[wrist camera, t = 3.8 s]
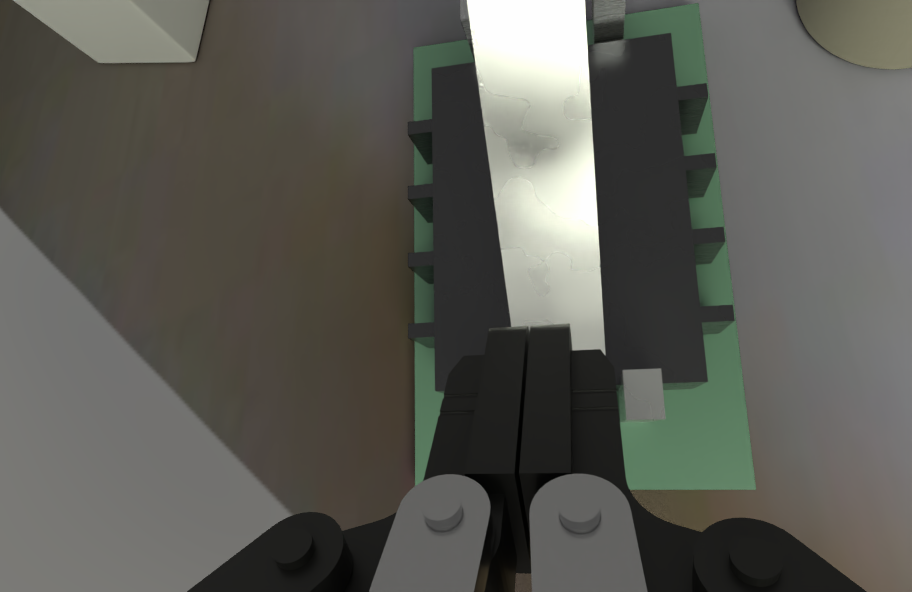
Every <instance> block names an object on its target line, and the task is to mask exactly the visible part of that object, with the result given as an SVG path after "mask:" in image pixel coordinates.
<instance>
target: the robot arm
mask: <svg viewBox="0 0 912 592" xmlns="http://www.w3.org/2000/svg"><path fill="white" fill-rule="evenodd" d="M516 573H530V574H531V576H532V592H866V591H865V590H864V589H862V588H861V587H860V586H858V585H857V584H856V583H854V582H853V581H852V580H850V579H849V578H848V577H846V576H845V575H844V574H842V573H841V572H840V571H838V570H837V569H836V568H835V567H833V566H832V565H831V564H829V563H828V562H827V561H825V560H824V559H823V558H821V557H820V556H819V555H817V554H816V553H815V552H813V551H812V550H811V549H809V548H808V547H807V546H805V545H804V544H803V543H801V542H800V541H799V540H797V539H796V538H795V537H793V536H792V535H791V534H789V533H788V532H786V531H785V530H783V529H781V528H779V527H777V526H775V525H773V524H770V523H767V522H764V521H761V520H756V519H750V518H731V519H725V520H722V521H719V522H716V523H714V524H712V525H711V526H709V527H708V528H707V529H705V530H704V531H703V532H699V531H695V530H692V529H689V528H685V527H682V526H678V525H675V524H672V523H669V522H666V521H664V520H662V519H660V518H658V517H656V516H654V515H653V514H651V513H650V512H648V511H647V510H646V509H645V508H643V507H642V506H641V505H640V504H639V503H638V502H637V500H636V499H635V498H634V497H633V495H632V493H631V492H630V490H629V487H628V485H627V481H626V475H625V466H624V456H623V447H622V438H621V428H620V419H619V411H618V400H617V391H616V381H615V371H614V366H613V365H612V364H611V363H610V361H609V360H608V359H607V357H606V356H605V355H604V353H603V352H602V351H601V350H600V349H593V350H572V340H571V330H570V323H568V324H551V325H533V326H531V327H530V331H529V327H528V326H518V327H500V328H490V329H489V331H488V337H487V342H486V348H485V354H484V355H469V356H463V357H462V358H461V359H460V361H459V362H458V363H457V364H456V366H455V367H454V368H453V369H452V370H451V372H450V373H449V374H448V379H447V383H446V387H445V391H444V398H443V400H442V404H441V408H440V416H438V421H437V425H436V429H435V433H434V438H433V442H432V446H431V450H430V454H429V459H428V463H427V467H426V471H425V476H424V479H423V482H421V483H419V484H418V485H416V486H415V487H414V488H412V489H411V490H410V491H409V492H408V493H407V494H406V496H405V497H404V499H403V500H402V501H401V504H400V506H399V508H398V511H397V512H396V513H395V514H393V515H391V516H389V517H387V518H385V519H382V520H379V521H376V522H373V523H369V524H365V525H362V526H358V527H355V528H351V529H348V530H344V531H342V530H341V528H340V526H339V525H338V523H337V522H336V521H335V520H334V519H332V518H331V517H330V516H327V515H325V514H322V513H317V512H307V513H300V514H296V515H293V516H290V517H288V518H286V519H284V520H282V521H280V522H278V523H277V524H275V525H274V526H272V527H271V528H270V529H268V530H267V531H266V532H265V533H263V534H262V535H261V536H259V537H258V538H257V539H255V540H254V541H253V542H252V543H250V544H249V545H248V546H246V547H245V548H244V549H242V550H241V551H240V552H238V553H237V554H236V555H234V556H233V557H232V558H230V559H229V560H228V561H227V562H225V563H224V564H223V565H221V566H220V567H219V568H217V569H216V570H215V571H213V572H212V573H211V574H210V575H208V576H207V577H206V578H204V579H203V580H202V581H201V582H199V583H198V584H196V585H195V586H194V587H193V588H191V589H190V590H189V591H187V592H515V577H516Z"/></svg>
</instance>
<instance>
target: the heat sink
mask: <svg viewBox="0 0 912 592" xmlns="http://www.w3.org/2000/svg"><path fill="white" fill-rule="evenodd" d="M625 3H626V0H592V42H593V44H591V45H587V48H588V65H589V82H590V99H591V116H592V133H593V150H594V167H595V184H596V201H597V218H598V235H599V252H600V269H601V286H602V303H603V320H604V337H605V354H606V357H607V359H608V360H609V361H610V363H611V364H612V365H613V366H614V371H615V381H616V391H617V392H618V400H619V414H620V423H628V422H653V421H658V420H664V419H666V417H665V406H664V395H663V390H682V389H694V388H696V387H698V386H700V385H702V384H705V383H707V382H708V376H707V366H706V357H705V347H704V338H703V335H706V334H719V333H721V332H722V331H723V330H724V329H725V328H727V327H728V326H729V325H730V324H731V323H733V322H734V321H735V318H734V309H733V305H717V306H700V300H699V291H698V282H697V272H696V265H701V264H711V263H712V262H713V260H714V259H715V257H716V256H717V254H718V253H719V251H720V249H721V248H722V246H723V245H724V243H725V242H726V241H725V233H724V227H713V228H701V229H692V225H691V216H690V206H689V198H700V197H704V195H705V193H706V191H707V188H708V186H709V184H710V181H711V179H712V177H713V175H714V172H715V170H716V168H717V165H716V157H715V153H709V154H700V155H690V156H684V150H683V140H682V135H689V134H697V130H698V127H699V124H700V121H701V118H702V115H703V112H704V109H705V106H706V103H707V100H708V89H707V83H703V84H695V85H688V86H680V87H677V84H676V74H675V65H674V56H673V46H672V37H671V33H665V34H659V35H652V36H645V37H638V38H632V39H625V40H623V38H624V20H625ZM460 18H461V23H462V26H463V29H464V32H465V34H466V37H467V40H468V43H469V46H470V49H471V52H472V55H473V58H474V61H475V56H474V49H473V42H472V34H471V27H470V20H469V12H468V5H467V0H460ZM431 74H432V119H428V120H421V121H413V122H408V135H409V137H410V139H411V140H412V142H413V143H414V145H415V146H416V148H417V149H418V151H419V152H420V154H421V156H422V157H423V159H424V160H425V162H426V163H427V165H428V164H432V165H433V183H431V184H422V185H413V186H408V200H409V201H410V202H411V203H412V205H413V206H414V207H415V208H416V209H417V211H418V212H419V213H420V214H421V215H422V217H423V218H424V219H425V220H426V221H427V223H433V251H427V252H416V253H408V267H409V268H410V269H411V270H412V271H414V272H415V273H416V274H417V275H418V276H419V277H421V278H422V279H423V280H424V281H425V282H426V283H428V284H434V322H428V323H411V324H408V338H409V339H411V340H413V341H415V342H417V343H419V344H421V345H423V346H426V347H428V348H435V391H436V392H440V393H444V391H445V387H446V383H447V379H448V374H449V373H450V372H451V370H452V369H453V368H454V367H455V366H456V364H457V363H458V362H459V361H460V359H461V358H462V357H463V356H469V355H484V354H485V348H486V342H487V337H488V331H489V329H490V328H500V327H511V320H510V313H509V306H508V298H507V291H506V284H505V276H504V269H503V262H502V254H501V247H500V240H499V232H498V225H497V218H496V210H495V203H494V196H493V188H492V181H491V174H490V166H489V159H488V152H487V144H486V137H485V130H484V122H483V115H482V108H481V100H480V93H479V86H478V78H477V71H476V64H475V62H471V63H464V64H457V65H451V66H444V67H437V68H431Z"/></svg>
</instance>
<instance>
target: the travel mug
mask: <svg viewBox="0 0 912 592" xmlns="http://www.w3.org/2000/svg"><path fill="white" fill-rule="evenodd" d="M796 3H797V8H798V12H799V15H800V18H801V20H802V22H803V24H804V26H805V28H806V29H807V31H808V32H809V33H810V35H811V36H812V37H813V38H814V39H815V40H816V41H817V42H818V43H819V44H820V45H821V46H822V47H824V48H825V49H826V50H828V51H829V52H831V53H832V54H834V55H836V56H838V57H840V58H841V59H844V60H846V61H849V62H851V63H855V64H858V65H862V66H866V67H871V68H878V69H904V68H912V0H796Z"/></svg>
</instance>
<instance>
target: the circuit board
mask: <svg viewBox="0 0 912 592" xmlns="http://www.w3.org/2000/svg"><path fill="white" fill-rule="evenodd" d="M586 31H587V45H591V44H593V42H592V20H587V21H586ZM665 33H671V37H672V46H673V56H674V65H675V74H676V84H677V87H680V86H688V85H695V84H703V83H707V89H708V80H707V72H706V63H705V55H704V47H703V38H702V30H701V21H700V13H699V4H698V3H695V4H689V5H683V6H676V7H670V8H664V9H657V10H651V11H645V12H638V13H632V14H625V20H624V38H623V40H625V39H632V38H638V37H645V36H652V35H659V34H665ZM471 62H475V61H474V58H473V55H472V52H471V49H470V46H469V43H468V40H460V41H454V42H448V43H441V44H435V45H429V46H422V47H416V48H414V121H421V120H428V119H432V74H431V68H437V67H444V66H451V65H457V64H464V63H471ZM682 140H683V150H684V156H690V155H700V154H709V153H715V157H716V165H717V156H716V148H715V139H714V131H713V123H712V114H711V106H710V97H709V89H708V100H707V103H706V106H705V109H704V112H703V115H702V118H701V121H700V124H699V127H698V130H697V134H689V135H682ZM431 183H433V165H432V164H428V165H427V163H426V162H425V160H424V159H423V157H422V156H421V154H420V152H419V151H418V149H417V148H416V146H415V145H414V185H422V184H431ZM689 206H690V216H691V225H692V229H701V228H713V227H724V233H725V241H726V232H725V224H724V215H723V207H722V199H721V190H720V182H719V173H718V165H717V168H716V170H715V172H714V175H713V177H712V179H711V181H710V184H709V186H708V188H707V191H706V193H705V195H704V197H700V198H689ZM427 251H433V223H427V221H426V220H425V219H424V218H423V217H422V215H421V214H420V213H419V212H418V211H417V209H416V208H415V207H414V253H416V252H427ZM696 272H697V282H698V291H699V300H700V306H717V305H733V309H734V318H735V321H734V322H733V323H731V324H730V325H729V326H728V327H727V328H725V329H724V330H723V331H722V332H721V333H719V334H706V335H703V338H704V347H705V357H706V366H707V376H708V382H707V383H705V384H702V385H700V386H698V387H696V388H694V389H682V390H663V395H664V406H665V417H666V419H664V420H658V421H653V422H628V423H620V428H621V438H622V447H623V456H624V466H625V475H626V481H627V485H628V487H629V490H756V486H755V477H754V469H753V460H752V452H751V443H750V435H749V427H748V418H747V410H746V401H745V393H744V384H743V376H742V367H741V359H740V351H739V342H738V334H737V325H736V317H735V308H734V300H733V291H732V283H731V275H730V266H729V258H728V249H727V241H726V242H725V243H724V245H723V246H722V248H721V249H720V251H719V253H718V254H717V256H716V257H715V259H714V260H713V262H712V263H711V264H701V265H696ZM414 294H415V323H428V322H434V284H428V283H426V282H425V281H424V280H423V279H422V278H421V277H419V276H418V275H417V274H416V273H415V272H414ZM443 398H444V393H440V392H436V391H435V348H428V347H426V346H423V345H421V344H419V343H417V342H415V486H416V485H418V484H419V483H421V482H423V479H424V476H425V471H426V467H427V463H428V459H429V454H430V450H431V446H432V442H433V438H434V433H435V429H436V425H437V421H438V416H440V408H441V404H442V400H443ZM617 400H618V392H617ZM618 411H619V400H618ZM619 419H620V414H619Z"/></svg>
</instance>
